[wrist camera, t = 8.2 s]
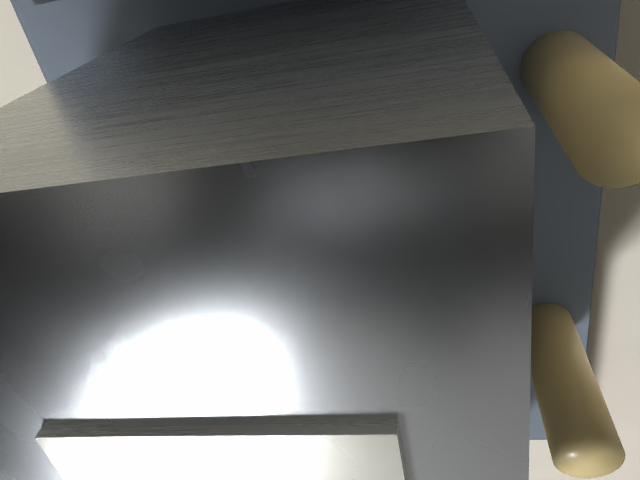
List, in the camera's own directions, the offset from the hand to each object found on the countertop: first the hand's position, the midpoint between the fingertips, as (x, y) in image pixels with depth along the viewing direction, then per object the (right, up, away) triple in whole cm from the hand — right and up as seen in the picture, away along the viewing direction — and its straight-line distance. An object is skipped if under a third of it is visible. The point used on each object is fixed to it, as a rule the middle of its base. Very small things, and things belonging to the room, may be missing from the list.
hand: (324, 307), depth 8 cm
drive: (0, +1, +2) cm, 2 cm away
